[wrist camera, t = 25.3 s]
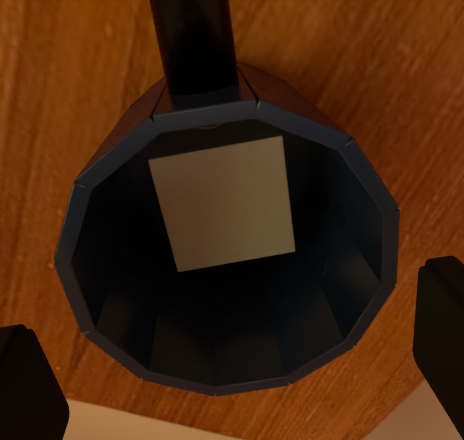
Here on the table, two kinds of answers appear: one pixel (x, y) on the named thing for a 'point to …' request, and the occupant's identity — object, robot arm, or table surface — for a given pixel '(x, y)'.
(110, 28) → the table surface
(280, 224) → the block
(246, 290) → the pot
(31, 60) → the table surface
